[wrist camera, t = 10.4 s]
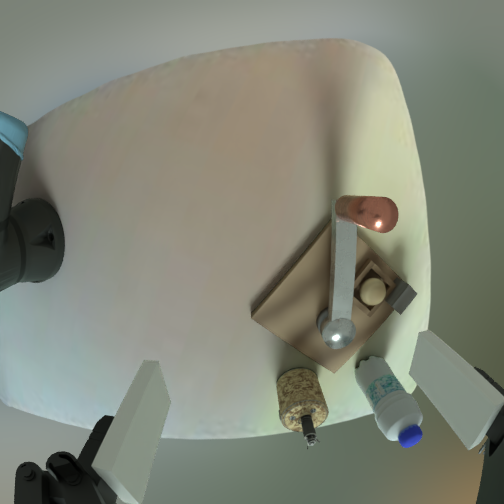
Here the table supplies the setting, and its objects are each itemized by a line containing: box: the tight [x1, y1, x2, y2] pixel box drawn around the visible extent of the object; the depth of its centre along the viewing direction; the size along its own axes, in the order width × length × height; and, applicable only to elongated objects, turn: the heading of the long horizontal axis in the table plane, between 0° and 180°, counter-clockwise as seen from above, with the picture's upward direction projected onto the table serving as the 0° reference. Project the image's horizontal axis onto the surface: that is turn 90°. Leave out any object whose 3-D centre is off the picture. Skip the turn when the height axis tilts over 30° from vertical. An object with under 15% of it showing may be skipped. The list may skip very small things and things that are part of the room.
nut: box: [360, 278, 386, 305], centre depth 37 cm, size 4×4×4 cm
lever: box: [320, 195, 398, 349], centre depth 30 cm, size 21×5×12 cm, turn 2°
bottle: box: [355, 356, 423, 448], centre depth 34 cm, size 7×7×20 cm
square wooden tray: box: [251, 218, 417, 373], centre depth 38 cm, size 18×19×6 cm
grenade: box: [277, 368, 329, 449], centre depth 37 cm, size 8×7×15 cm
